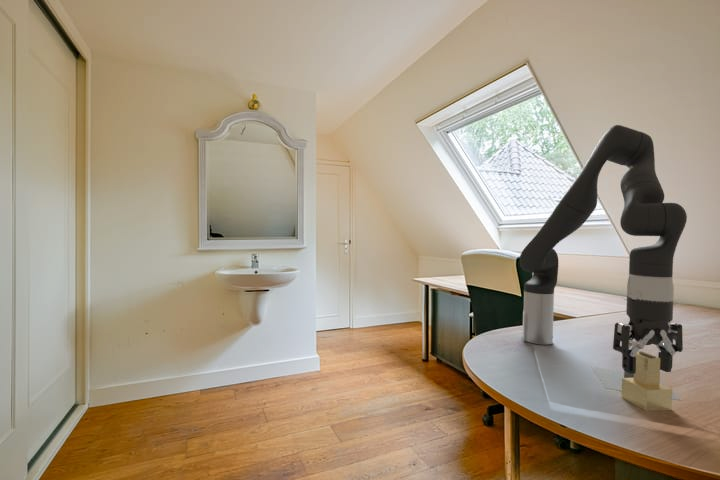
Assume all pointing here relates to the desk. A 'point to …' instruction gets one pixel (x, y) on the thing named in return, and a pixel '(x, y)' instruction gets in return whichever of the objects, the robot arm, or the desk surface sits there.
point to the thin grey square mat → (617, 379)
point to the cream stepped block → (647, 385)
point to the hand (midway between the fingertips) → (646, 371)
